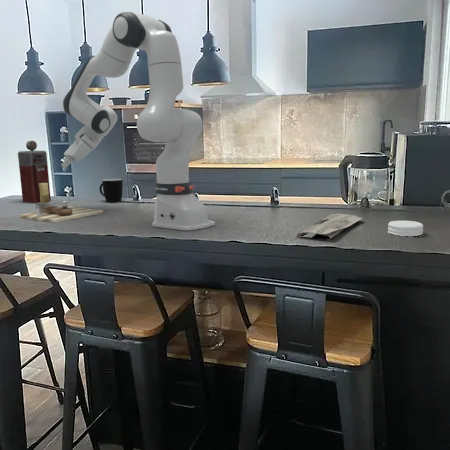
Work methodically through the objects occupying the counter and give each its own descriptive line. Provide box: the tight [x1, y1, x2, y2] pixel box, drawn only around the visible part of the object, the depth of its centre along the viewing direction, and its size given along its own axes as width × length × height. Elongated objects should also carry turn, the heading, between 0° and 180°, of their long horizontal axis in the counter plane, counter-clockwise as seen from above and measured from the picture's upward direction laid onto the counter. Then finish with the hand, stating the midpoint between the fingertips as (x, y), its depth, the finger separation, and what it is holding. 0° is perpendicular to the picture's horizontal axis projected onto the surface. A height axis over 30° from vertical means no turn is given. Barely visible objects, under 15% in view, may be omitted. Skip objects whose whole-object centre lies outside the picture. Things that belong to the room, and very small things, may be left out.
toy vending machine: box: [17, 140, 52, 204], centre depth 219 cm, size 9×11×28 cm
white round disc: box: [387, 220, 424, 236], centre depth 144 cm, size 10×10×4 cm
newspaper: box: [296, 213, 363, 241], centre depth 152 cm, size 35×12×4 cm, turn 152°
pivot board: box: [18, 205, 104, 223], centre depth 185 cm, size 21×23×1 cm
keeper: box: [34, 200, 70, 216], centre depth 179 cm, size 10×10×5 cm
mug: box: [99, 178, 124, 204], centre depth 218 cm, size 12×9×10 cm
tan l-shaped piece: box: [39, 183, 72, 215], centre depth 182 cm, size 16×5×11 cm, turn 56°
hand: (62, 166), depth 187 cm, fingers closed
